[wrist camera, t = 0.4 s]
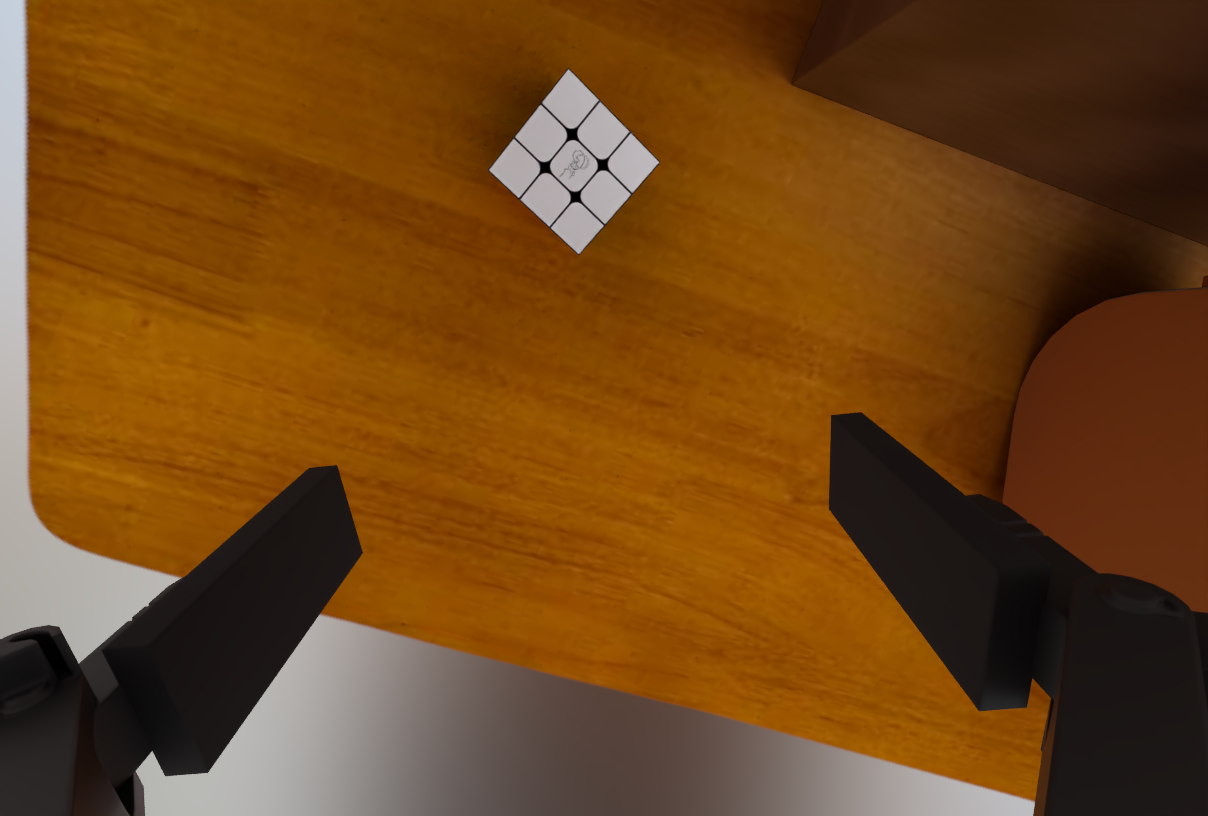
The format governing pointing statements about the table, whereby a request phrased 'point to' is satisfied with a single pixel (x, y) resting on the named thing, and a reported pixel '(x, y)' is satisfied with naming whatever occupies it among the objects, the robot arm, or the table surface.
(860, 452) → the robot arm
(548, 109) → the rubik's cube
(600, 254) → the table surface
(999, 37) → the walnut step
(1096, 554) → the alarm clock
